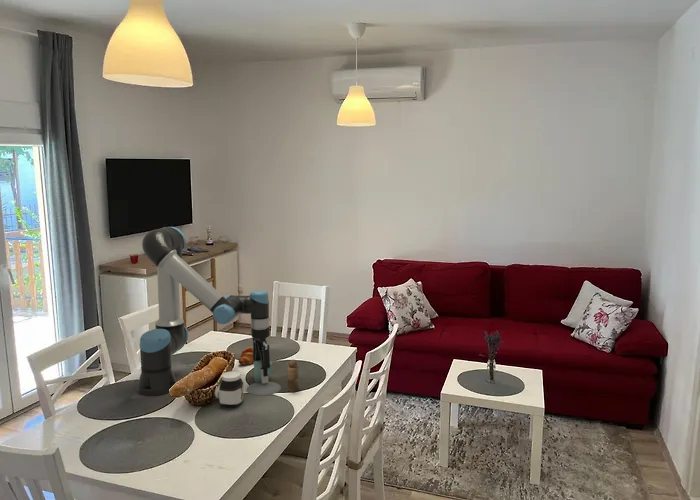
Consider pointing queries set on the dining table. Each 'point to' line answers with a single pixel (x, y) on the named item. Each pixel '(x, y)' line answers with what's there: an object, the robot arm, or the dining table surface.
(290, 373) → the salt mill
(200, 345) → the dining table surface
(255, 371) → the mug
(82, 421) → the dining table surface
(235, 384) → the spread jar
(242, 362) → the croissant
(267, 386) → the grey flat disc
